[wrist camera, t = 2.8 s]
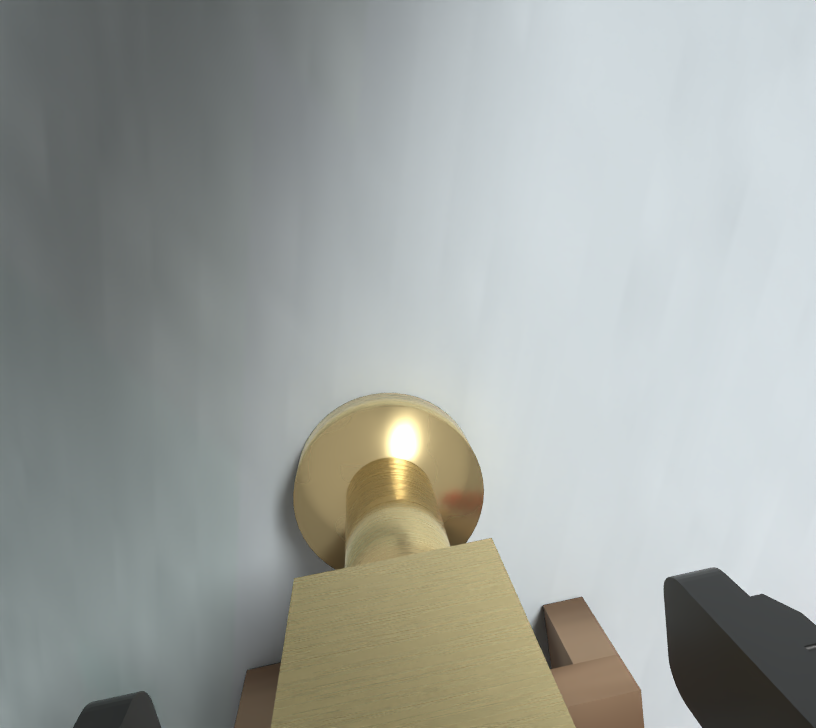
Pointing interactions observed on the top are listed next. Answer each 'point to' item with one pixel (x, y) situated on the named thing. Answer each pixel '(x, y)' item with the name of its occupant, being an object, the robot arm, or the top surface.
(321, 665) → the keyhole peg
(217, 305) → the top surface
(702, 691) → the robot arm
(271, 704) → the keyhole plate
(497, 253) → the top surface
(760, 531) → the top surface
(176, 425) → the top surface
